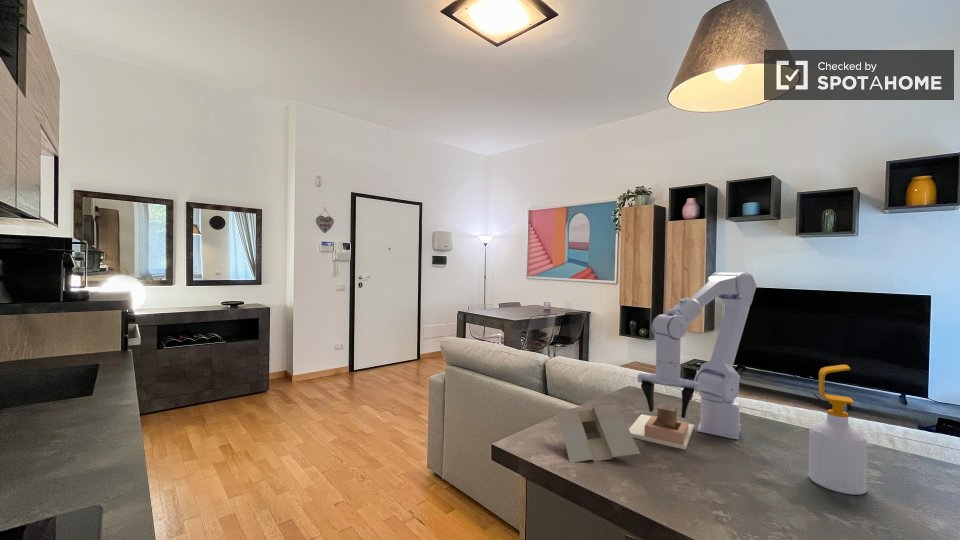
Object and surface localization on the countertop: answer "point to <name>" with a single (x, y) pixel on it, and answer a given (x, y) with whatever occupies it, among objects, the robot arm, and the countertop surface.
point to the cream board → (639, 433)
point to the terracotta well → (666, 431)
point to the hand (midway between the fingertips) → (667, 413)
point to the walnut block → (667, 416)
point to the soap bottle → (837, 446)
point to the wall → (596, 433)
